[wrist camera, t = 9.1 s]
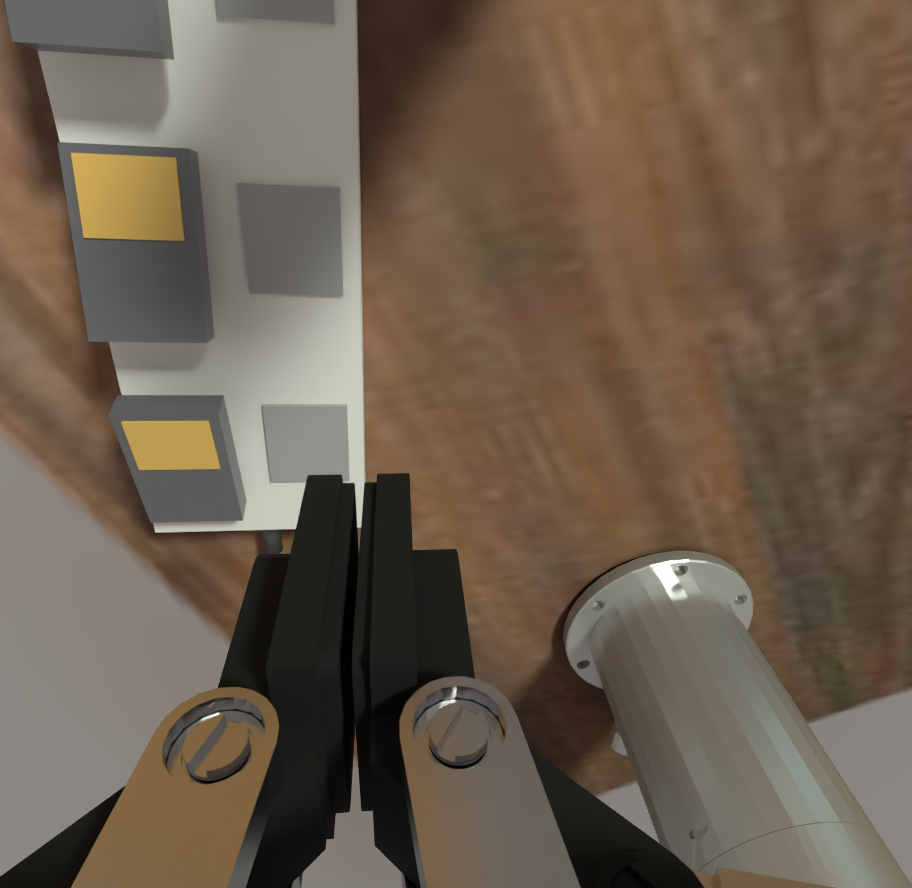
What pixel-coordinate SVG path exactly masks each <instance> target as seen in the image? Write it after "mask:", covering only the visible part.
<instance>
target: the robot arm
mask: <svg viewBox="0 0 912 888" xmlns="http://www.w3.org/2000/svg"><path fill="white" fill-rule="evenodd" d="M753 604H754V602H753V598H752V594H751V590H750V589H749V587H748V586H747V584H746V582H745V581H744V579H743V578H742V576H741V575H740V574H739V573H738V571H737V570H736V569H735V568H734V567H733V566H732V565H730V564H729V563H727V562H726V561H724V560H723V559H720V558H718V557H715V556H713V555H710V554H706V553H701V552H695V551H670V552H663V553H656V554H651V555H648V556H644V557H641V558H637V559H634V560H632V561H630V562H628V563H625V564H623V565H621V566H618V567H617V568H615V569H613V570H612V571H610V572H608V573H607V574H605V575H603V576H602V577H600V578H599V579H598V580H597V581H596V582H594V583H593V584H592V585H591V586H589V587H588V588H587V589H586V590H585V591H584V593H583V594H582V595H581V596H580V597H579V598H578V599H577V600H576V602H575V604H574V605H573V607H572V608H571V610H570V612H569V613H568V616H567V619H566V622H565V625H564V630H563V643H564V648H565V652H566V654H567V657H568V660H569V663H570V665H571V667H572V668H573V669H574V671H575V672H576V673H577V675H578V676H580V677H581V678H582V679H583V680H585V681H586V682H587V683H590V684H592V685H594V686H596V687H598V688H601V689H604V691H605V694H606V697H607V700H608V702H609V705H610V708H611V711H612V713H613V716H614V719H615V721H614V724H613V728H612V731H611V734H610V739H609V742H610V745H611V747H612V748H613V749H614V750H615V751H616V752H617V753H620V754H622V755H628V757H629V760H630V763H631V765H632V768H633V771H634V774H635V776H636V779H637V782H638V785H639V787H640V790H641V793H642V795H643V798H644V801H645V804H646V807H647V809H648V812H649V815H650V817H651V820H652V823H653V826H654V829H655V831H656V834H657V837H658V840H659V842H660V844H659V843H658V842H657V841H655V840H654V839H652V838H651V837H650V836H648V835H647V834H646V833H644V832H643V831H642V830H640V829H639V828H637V827H636V826H634V825H633V824H632V823H631V822H629V821H628V820H626V819H625V818H624V817H622V816H621V815H620V814H618V813H617V812H615V811H614V810H613V809H611V808H610V807H609V806H607V805H606V804H605V803H603V802H602V801H600V800H599V799H598V798H596V797H595V796H594V795H592V794H591V793H589V792H588V791H587V790H585V789H584V788H583V787H581V786H580V785H578V784H577V783H576V782H574V781H573V780H572V779H570V778H569V777H568V776H566V775H565V774H563V773H562V772H561V771H559V770H558V769H557V768H555V767H554V766H552V765H551V764H550V763H548V762H547V761H546V760H544V759H543V758H542V757H540V756H539V755H537V754H536V753H535V752H533V751H532V750H531V749H529V747H528V744H527V741H526V739H525V736H524V733H523V731H522V728H521V725H520V723H519V720H518V717H517V714H516V713H515V711H514V709H513V707H512V706H511V704H510V702H509V700H508V699H507V698H506V697H505V696H504V695H503V694H502V693H501V692H499V691H498V690H497V689H496V688H495V687H493V686H491V685H489V684H487V683H485V682H483V681H481V680H478V679H475V675H474V668H473V661H472V653H471V646H470V639H469V631H468V624H467V617H466V610H465V602H464V595H463V588H462V580H461V573H460V566H459V559H458V553H457V550H456V549H441V550H413V549H412V525H411V500H410V476H409V473H395V474H377V482H368V483H364V495H363V509H362V523H361V536H360V550H358V532H357V513H356V495H355V484H354V483H343V479H342V475H341V474H337V475H308V477H307V480H306V485H305V489H304V494H303V499H302V503H301V508H300V512H299V517H298V521H297V526H296V531H295V535H294V540H293V544H292V549H291V554H265V555H258V556H257V557H256V560H255V562H254V565H253V569H252V572H251V575H250V579H249V582H248V586H247V589H246V593H245V596H244V600H243V603H242V606H241V610H240V613H239V617H238V620H237V624H236V627H235V631H234V634H233V637H232V641H231V644H230V648H229V651H228V655H227V658H226V662H225V665H224V668H223V672H222V675H221V679H220V682H219V686H218V688H217V689H213V690H210V691H206V692H203V693H200V694H198V695H196V696H194V697H193V698H191V699H189V700H187V701H185V702H183V703H182V704H180V705H179V706H178V707H177V708H176V709H175V710H174V711H172V712H171V713H170V714H169V715H168V716H166V717H165V719H164V720H163V722H162V723H161V724H160V726H159V727H158V729H157V730H156V731H155V733H154V734H153V736H152V738H151V740H150V742H149V743H148V745H147V747H146V749H145V751H144V753H143V755H142V756H141V759H140V760H139V762H138V764H137V766H136V768H135V769H134V772H133V773H132V775H131V777H130V779H129V781H128V782H127V785H126V786H124V787H123V788H122V789H120V790H119V791H118V792H116V793H115V794H113V795H112V796H111V797H110V798H108V799H106V800H105V801H104V802H102V803H101V804H100V805H98V806H97V807H95V808H94V809H93V810H91V811H90V812H89V813H87V814H86V815H84V816H83V817H82V818H80V819H79V820H78V821H76V822H75V823H74V824H72V825H71V826H69V827H68V828H67V829H65V830H64V831H63V832H61V833H60V834H58V835H57V836H56V837H54V838H53V839H51V840H50V841H49V842H47V843H46V844H45V845H43V846H42V847H40V848H39V849H38V850H36V851H35V852H34V853H32V854H31V855H29V856H28V857H27V858H25V859H24V860H23V861H21V862H20V863H18V864H17V865H16V866H14V867H13V868H12V869H10V870H9V871H7V872H6V873H5V874H3V875H2V876H0V888H301V884H302V875H303V871H304V870H305V869H306V868H307V867H308V866H309V865H310V864H311V863H312V862H313V861H314V860H315V859H316V858H317V857H318V856H319V855H320V854H321V853H322V852H323V851H324V850H325V849H326V839H333V838H334V828H335V814H336V813H344V812H349V811H350V803H351V787H352V770H353V753H354V737H355V724H356V739H357V753H358V768H359V783H360V796H361V810H362V811H373V820H374V839H375V846H376V847H377V848H378V849H379V850H380V851H381V852H382V853H383V854H384V855H385V856H386V857H387V858H388V859H389V860H390V861H391V862H392V863H393V864H394V865H395V866H396V867H397V868H398V869H399V870H400V871H401V872H402V886H403V888H912V884H911V882H910V881H909V879H908V878H907V876H906V875H905V873H904V872H903V870H902V869H901V867H900V866H899V864H898V863H897V861H896V860H895V858H894V856H893V855H892V853H891V852H890V850H889V849H888V847H887V846H886V844H885V843H884V841H883V839H882V838H881V836H880V835H879V833H878V832H877V830H876V829H875V827H874V826H873V824H872V822H871V821H870V819H869V818H868V816H867V815H866V813H865V812H864V810H863V809H862V807H861V805H860V804H859V802H858V801H857V799H856V798H855V796H854V795H853V793H852V792H851V790H850V788H849V787H848V786H847V784H846V782H845V781H844V779H843V778H842V776H841V775H840V773H839V772H838V770H837V768H836V767H835V765H834V764H833V762H832V761H831V759H830V758H829V756H828V754H827V753H826V752H825V750H824V748H823V747H822V745H821V744H820V742H819V741H818V739H817V737H816V736H815V734H814V733H813V731H812V730H811V728H810V727H809V725H808V723H807V722H806V720H805V719H804V717H803V716H802V714H801V713H800V711H799V710H798V708H797V706H796V705H795V703H794V702H793V700H792V699H791V697H790V696H789V694H788V693H787V691H786V689H785V688H784V686H783V685H782V683H781V682H780V680H779V679H778V677H777V676H776V674H775V672H774V671H773V669H772V668H771V666H770V665H769V663H768V662H767V660H766V659H765V657H764V655H763V654H762V652H761V651H760V649H759V648H758V646H757V645H756V643H755V642H754V640H753V638H752V637H751V635H750V634H749V632H748V631H747V630H748V628H749V626H750V622H751V619H752V616H753Z"/></svg>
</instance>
